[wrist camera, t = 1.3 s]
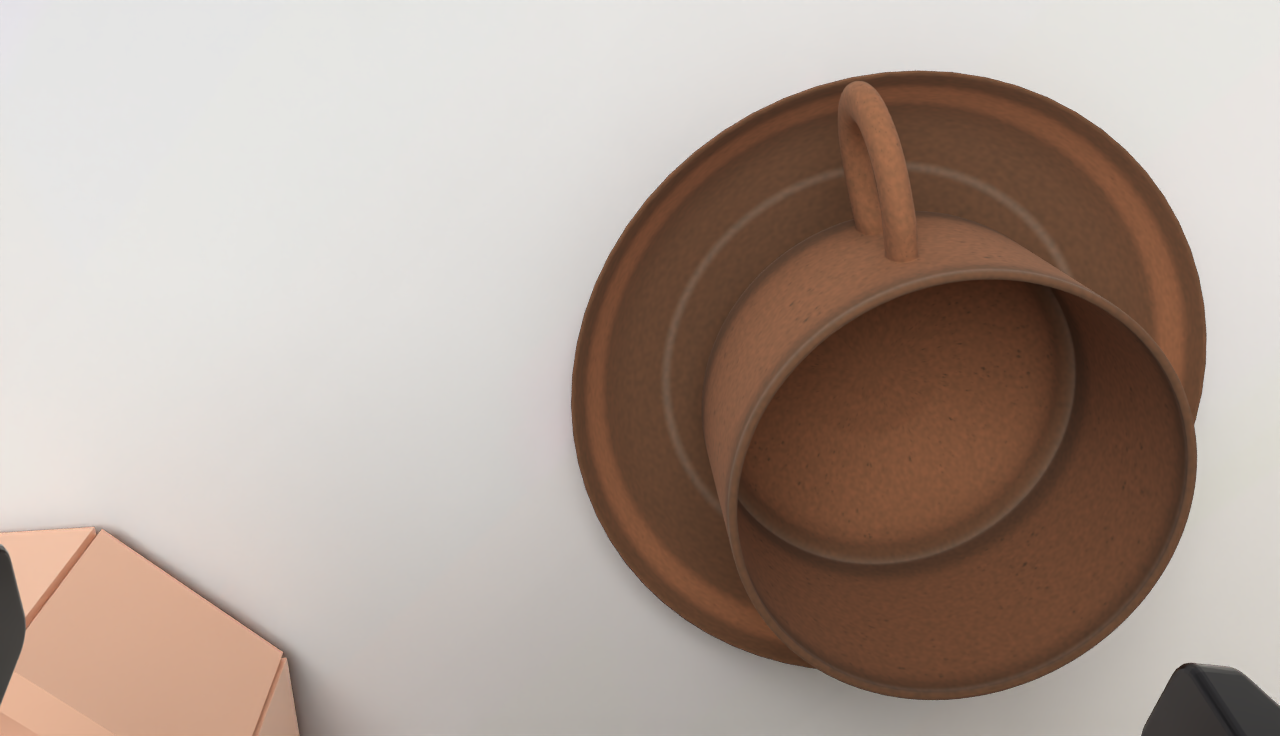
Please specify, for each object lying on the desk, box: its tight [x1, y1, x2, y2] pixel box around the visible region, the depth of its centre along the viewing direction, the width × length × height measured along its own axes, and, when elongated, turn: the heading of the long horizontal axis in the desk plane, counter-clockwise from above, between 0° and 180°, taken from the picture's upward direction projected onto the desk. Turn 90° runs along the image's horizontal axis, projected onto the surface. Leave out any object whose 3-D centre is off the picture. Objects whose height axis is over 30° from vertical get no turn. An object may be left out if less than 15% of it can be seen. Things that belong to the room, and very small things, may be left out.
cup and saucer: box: [571, 71, 1206, 700], centre depth 21 cm, size 12×12×6 cm
